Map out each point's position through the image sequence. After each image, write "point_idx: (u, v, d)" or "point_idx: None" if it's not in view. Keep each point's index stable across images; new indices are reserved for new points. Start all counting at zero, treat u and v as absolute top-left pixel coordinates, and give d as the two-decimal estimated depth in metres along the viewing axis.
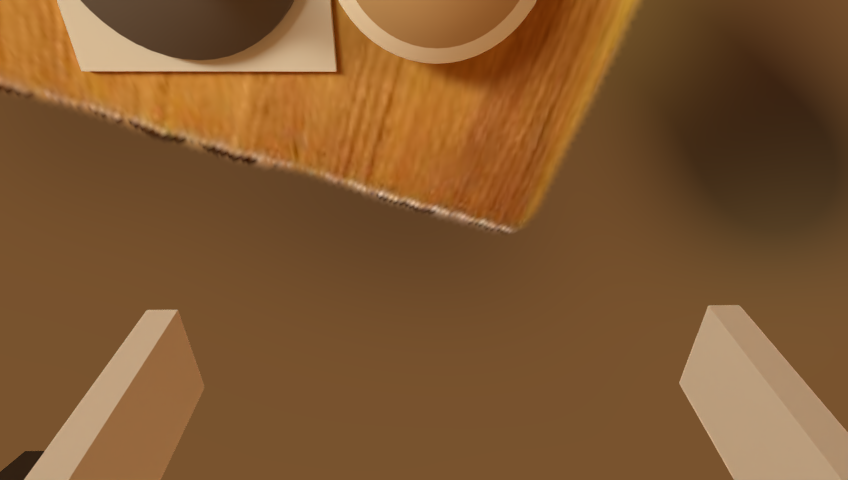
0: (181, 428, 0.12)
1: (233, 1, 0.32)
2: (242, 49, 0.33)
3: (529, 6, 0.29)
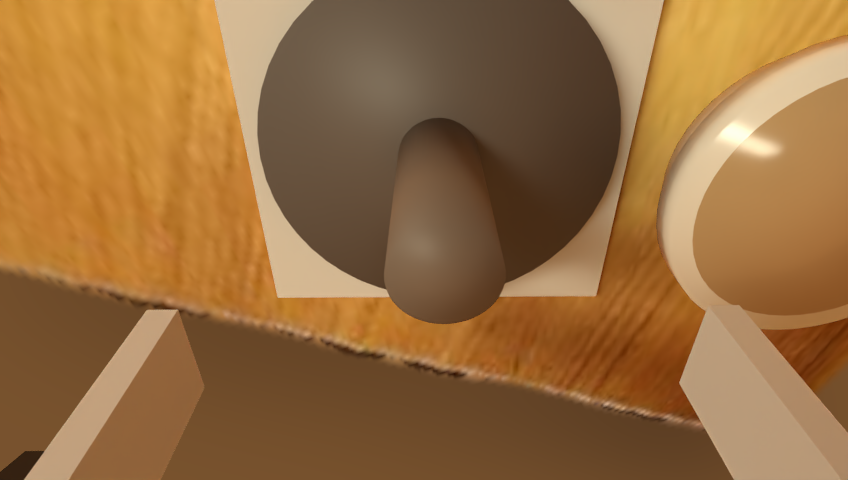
0: (181, 428, 0.12)
1: (498, 238, 0.25)
2: None
3: None
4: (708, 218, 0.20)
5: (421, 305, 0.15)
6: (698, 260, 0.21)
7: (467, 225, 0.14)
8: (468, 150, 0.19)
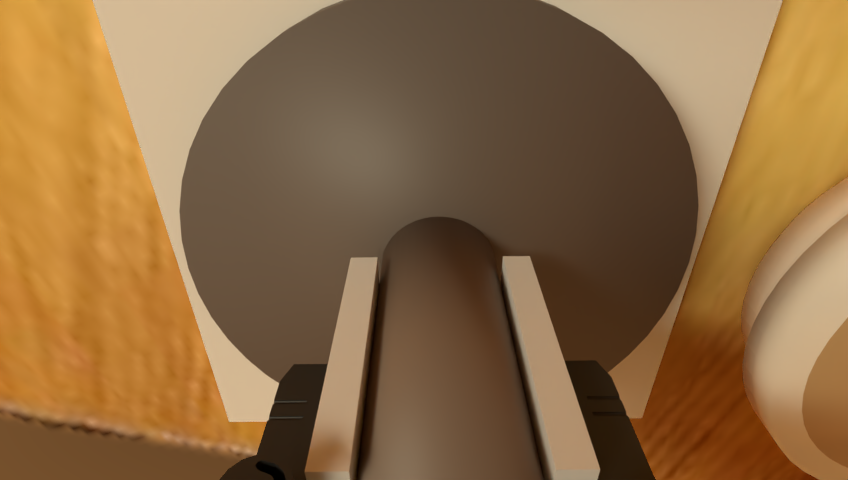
0: None
1: None
2: None
3: None
4: (830, 369, 0.14)
5: None
6: (807, 417, 0.15)
7: None
8: (484, 280, 0.13)
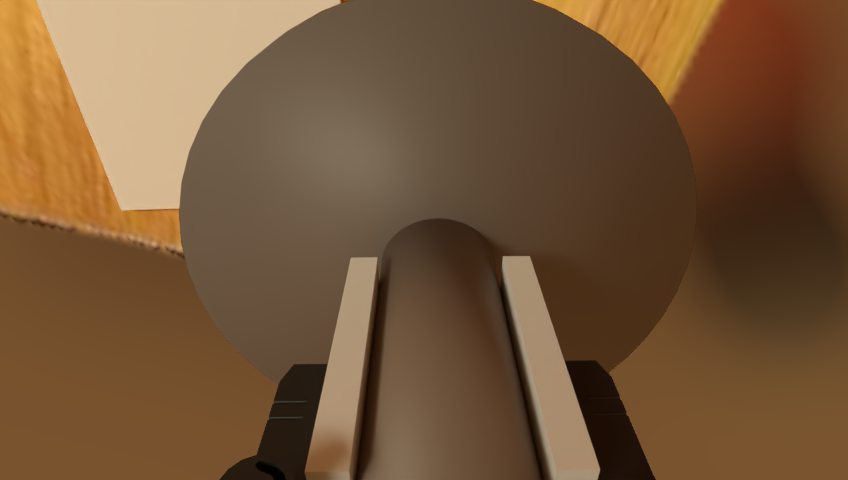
0: None
1: None
2: None
3: None
4: None
5: None
6: None
7: None
8: (483, 282, 0.13)
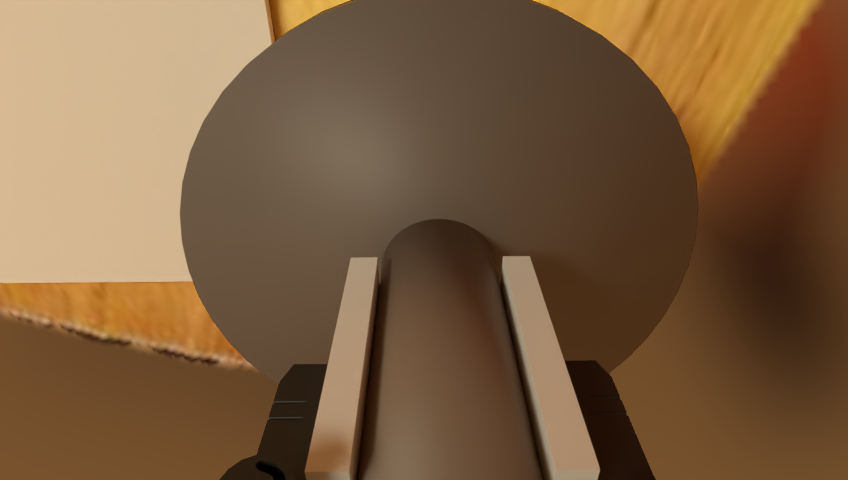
0: None
1: None
2: None
3: None
4: None
5: None
6: None
7: None
8: (484, 282, 0.13)
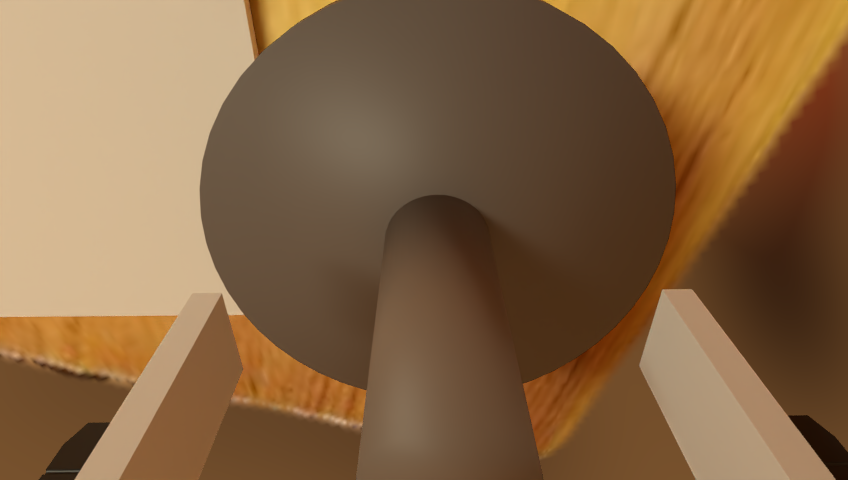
0: (224, 406, 0.13)
1: (513, 334, 0.20)
2: None
3: None
4: None
5: None
6: None
7: (485, 420, 0.09)
8: (478, 249, 0.14)
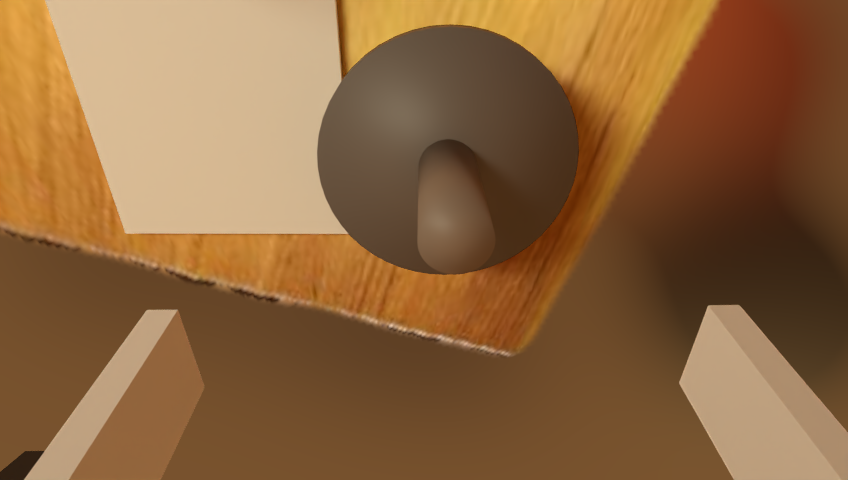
0: (181, 428, 0.12)
1: None
2: (488, 266, 0.34)
3: None
4: None
5: (440, 261, 0.23)
6: None
7: (471, 207, 0.22)
8: (470, 162, 0.28)
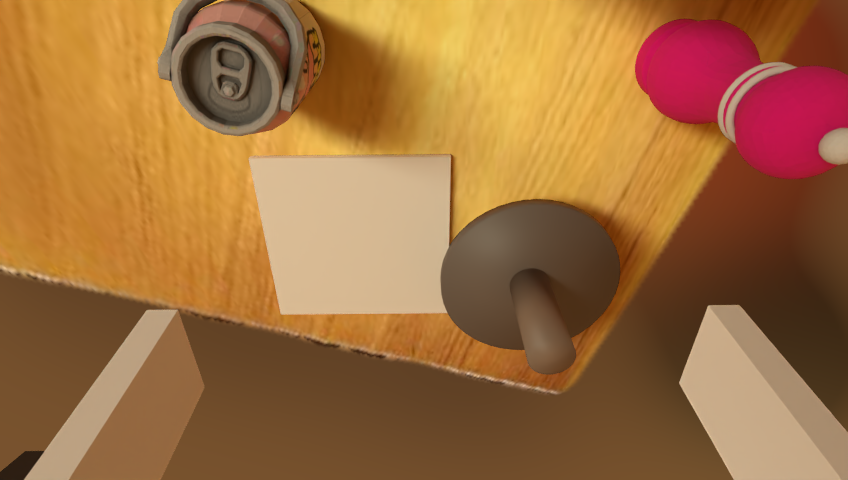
0: (181, 428, 0.12)
1: None
2: None
3: None
4: None
5: (540, 367, 0.38)
6: None
7: (562, 338, 0.36)
8: (550, 290, 0.42)
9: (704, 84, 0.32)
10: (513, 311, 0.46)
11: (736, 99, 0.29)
